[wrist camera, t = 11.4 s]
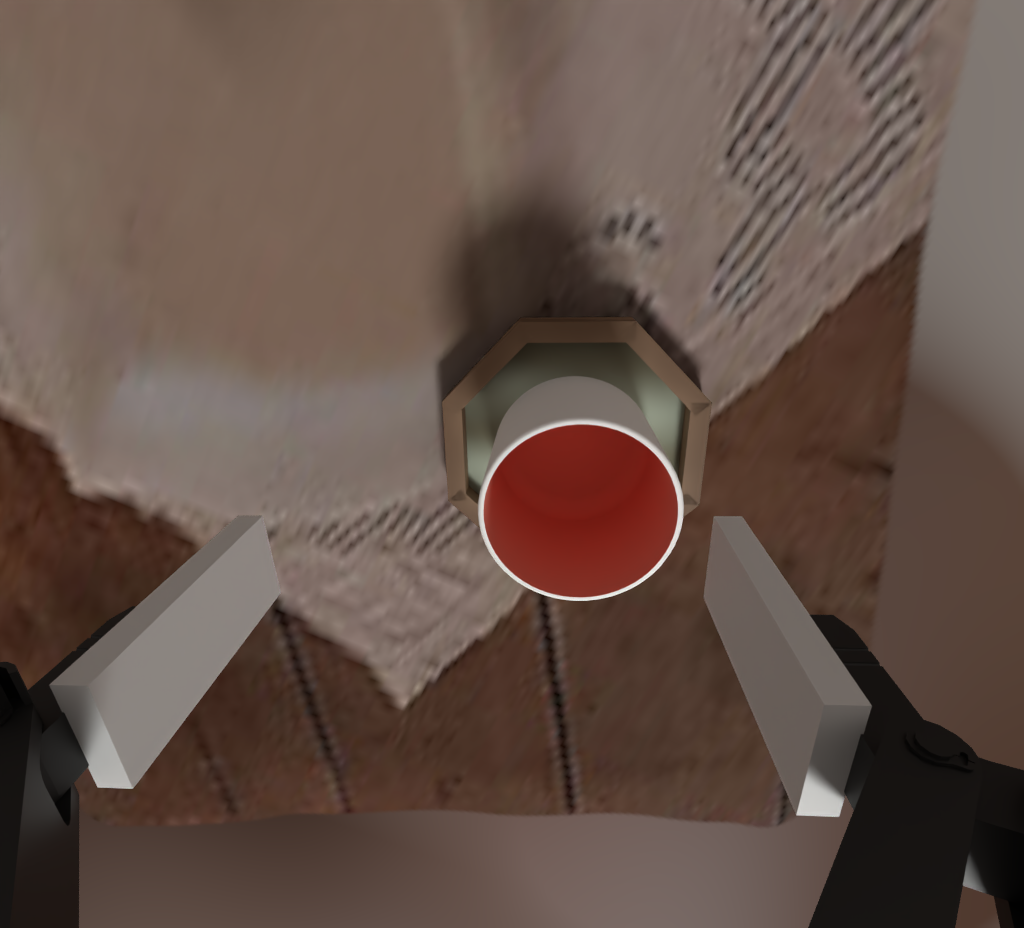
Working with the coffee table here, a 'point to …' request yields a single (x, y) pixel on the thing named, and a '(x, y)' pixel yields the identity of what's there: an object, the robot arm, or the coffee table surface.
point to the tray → (573, 352)
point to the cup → (579, 492)
